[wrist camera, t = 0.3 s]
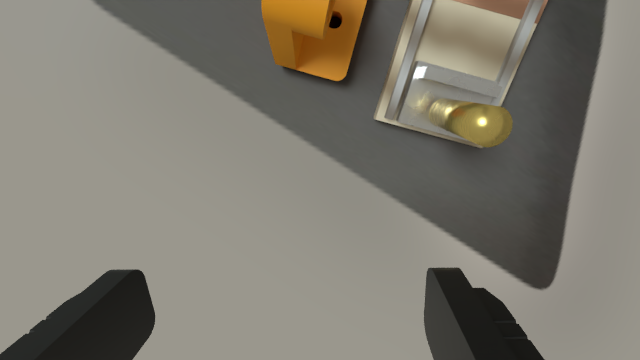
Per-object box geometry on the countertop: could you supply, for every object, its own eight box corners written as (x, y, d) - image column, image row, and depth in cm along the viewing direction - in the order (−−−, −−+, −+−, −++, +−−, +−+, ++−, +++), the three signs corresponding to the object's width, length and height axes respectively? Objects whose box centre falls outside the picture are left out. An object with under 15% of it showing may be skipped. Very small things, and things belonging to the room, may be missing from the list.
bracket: (343, 83, 33) (345, 83, 22) (280, 65, 33) (249, 56, 22) (374, -26, 30) (394, -93, 19) (304, -47, 30) (282, -126, 19)
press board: (441, -100, 28) (478, -168, 20) (564, -65, 28) (647, -120, 21) (373, 117, 34) (382, 127, 27) (474, 144, 35) (512, 162, 27)
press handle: (414, 61, 30) (457, 49, 19) (491, 82, 30) (577, 82, 19) (395, 120, 32) (424, 139, 21) (467, 139, 32) (532, 169, 21)
